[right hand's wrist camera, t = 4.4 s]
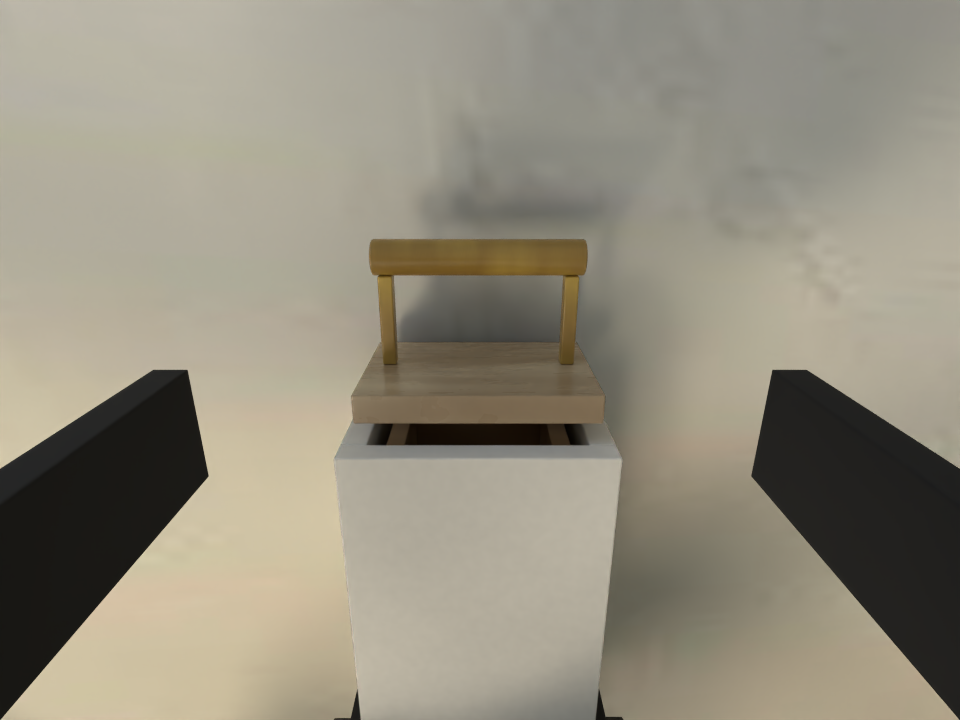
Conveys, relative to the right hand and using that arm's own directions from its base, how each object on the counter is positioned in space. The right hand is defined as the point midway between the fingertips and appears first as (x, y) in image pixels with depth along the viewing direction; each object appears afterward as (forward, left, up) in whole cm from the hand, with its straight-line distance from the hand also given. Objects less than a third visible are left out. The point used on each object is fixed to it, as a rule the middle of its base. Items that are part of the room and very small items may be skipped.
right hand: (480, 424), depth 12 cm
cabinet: (-10, -11, -15) cm, 21 cm away
